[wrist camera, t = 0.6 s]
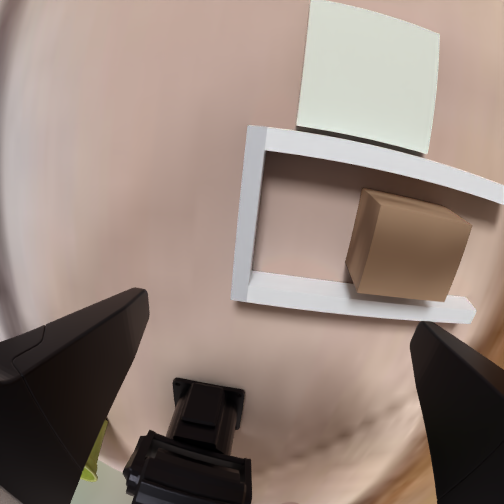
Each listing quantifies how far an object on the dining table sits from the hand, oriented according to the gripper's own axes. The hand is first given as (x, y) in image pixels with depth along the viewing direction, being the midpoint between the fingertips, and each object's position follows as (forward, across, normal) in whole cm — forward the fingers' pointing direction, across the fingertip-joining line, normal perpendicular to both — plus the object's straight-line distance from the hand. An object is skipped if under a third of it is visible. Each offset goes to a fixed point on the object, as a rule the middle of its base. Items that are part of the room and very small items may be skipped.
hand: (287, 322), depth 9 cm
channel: (+11, -7, 0) cm, 13 cm away
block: (+11, -7, 0) cm, 13 cm away
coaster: (+11, -4, -9) cm, 15 cm away
